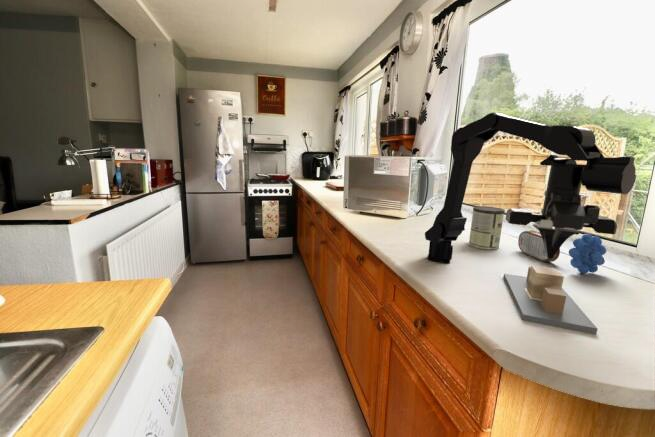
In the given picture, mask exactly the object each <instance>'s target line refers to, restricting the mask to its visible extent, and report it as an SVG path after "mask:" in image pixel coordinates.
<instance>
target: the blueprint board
mask: <svg viewBox="0 0 655 437" xmlns="http://www.w3.org/2000/svg"><path fill="white" fill-rule="evenodd" d="M530 270H531V266H528V269H527V273H526V274H527V275H526V276H522V275H515V274H509V273H503V279H504V282H505V285H506V286H507V289H508V291H509V293H510V295H511V297H512V298H511V299H512V301H513V303H514V304H515V306H516V308H517V311H518V314H519V316H520V318H521V320H522V321H527V322H531V323H535V324H540V325H541V324H542V325H546V326H550V327H551V326H552V327H557V328H563V329H567V330H571V331H577V332H582V333H587V334H592V335H597V334H598V327H597V326H596V325H595V324H594V323H593V321H592V320H591V319H590V318H589V316H587V315H586V313H585V312H584V311H583V310H582V309H581V308H580V307H579V306H578V304H577V303H576V302H575V301H574V299H572V297H571V296H570V295H569V294H568V293H567V291H565V289H564V288H563V287H562V288H561V290H556V289H550V288H544V292H543V297H542V300H541V299H536V298H532V297H531V295H530V294H529V292H528V290H527V286H528V280H529V275H530Z"/></svg>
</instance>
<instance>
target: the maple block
mask: <svg viewBox="0 0 655 437" xmlns="http://www.w3.org/2000/svg"><path fill="white" fill-rule="evenodd" d="M530 267H531V270H530V275H529V280H528V286H527V290H528V292H529V294H530V295H531V297H532V298H536V299H541V300H542V297H543V292H544V288H550V289H556V290H561V288H563V285H564V284H563V282H564V277H565V276H564V275H563V273H561V271H559V270H558V269H557V268H552V267H544V266H537V265H531V266H530Z"/></svg>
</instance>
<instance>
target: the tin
mask: <svg viewBox="0 0 655 437" xmlns="http://www.w3.org/2000/svg"><path fill="white" fill-rule="evenodd" d="M517 243H518V244H517V245H518V248H519V250H520V251H521V252H522V254H524V255H527V256H529V257H531V258H534V259H536V260H538V261H541V262H544V263H545V262H546V263H547V262H550V263H551V262H554V261H556V260H557V259H559V256H560V253H561V247H560V248H559V250H558V251H557V253H556V254H555V255H554V257H553V258H552V259H550V258H547V256H546V252H545V248H544V244H543V240H542V237H541V234H540V232H539V231H536V230H533V229H532V230H525V231H522V232H521V233H520V234H519V235H518V242H517Z"/></svg>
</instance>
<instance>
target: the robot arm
mask: <svg viewBox="0 0 655 437" xmlns="http://www.w3.org/2000/svg"><path fill="white" fill-rule="evenodd" d="M499 132H501V133H505V134H508V135H512V136H515V137H519V138H523V139H525V140H529V141H533V142H535V143H536V144H539V145H540V146H542V147H543V148H544V149H546V150H549V151H550V152H552V153H554V154H549V156H547V158H545V159H543V160H542V161H540V163H539V165H540V166H550V169H549V173H548V180H547V184H546V189H545V190H544V200H543V207H542V208H541V211H540V214H539V213H532V212H531V211H530V210H528V209H522V208H512V207H509V208H508V209H507V210H506V211H505V220H506V222H507V223H508V224H511V225H520V226H527V225H529V224H530V223H533V224H532V226H533V227H534V228H535V229H536V230H537V231H538V232H539V233H540V234H541V237H542V240H543V244H544V248H545V252H546V256H547V258H550V259H552V258H553V257H554V255H555V254H556V253H557V251H558V250H559V248H560V249H561V247H562V245H563V244H564V243H565V242H566V241H567V240H568V239H569V238H570V237H572V236H573V235H577V236H579V234H580V231H581V230H583V228H588V229H592V230H593V231H594V232H595V233H598V234H605V235H606V234H607V235H616V232H617V228H618V225H617V222H616V220H615V219H611V218H609V217H606V216H605V215H603V216H601V215H600V210H601V208H600V206H598V205H595V204H594V205H593V204H586V205H582V203H581V202H582V201H581V200H582V195H581V194H580V193H581V188H582V186H583V187H585V189H586V190H587V191H589V192H597V193H598V192H599V193H607V194H608V193H609V194H618V195H628V194H629V193H630V192H631V190H632V189H633V187H634V186H635V183H636V181H637V180H636V179H637V174H636V165H635V164H634V163H635V157H633V156H618V157H617V156H616V157H610V156H609V157H605V156H604V154H603V153H602V151H601V150H600V148H599V147H598V145H597V144H596V135H595V132H594V131H593V130H592V129H589V128H588V127H585V128H584V127H579V126H573V125H572V126H571V125H557V124H556V125H555V124H552V125H551V124H550V125H549V124H542V123H538V122H535V121H530V120H525V119H521V118H517V117H514V116H510V115H509V116H508V115H506V114H504V113H501V112H500V113H498V112H489V113H488V114H486V115H484V116H483V117H482V118H479V119H477V120H474V121H472V122H470V123H468V124H466V125H464V126H463V127H460V128H457V129H456V130H455V131H453V133H452V136H451V142H450V144H451V146H450V151H451V154H452V157H453V163H452V167H451V170H450V171H451V172H450V176H449V180H448V186H447V189H446V194H445V199H444V202H443V207H442V208H441V210H440V211H439V213H437V215H436V216H435V219H434V222H433V224H432V226H431V227H430V228H429V229H427V231H425V232H424V238H425V241H428V242H429V245H428V246H429V247H428V254H427V258H426V259H427V261H431V262H438V263H444V264H450V262H451V261H452V258H453V253H454V252H453V251H454V250H453V249H454V245H453V244H452V242H453V241H454V242H455V241H456V242H457V240H458V237H459V236H460V235H461V234H462V233H463V231H465V225H466V223H467V218H468V217H464V216H463V214H462V207H463V204H464V198H465V195H466V190H467V187H468V186H467V185H468V182H469V179H470V173H471V170H472V165H473V163H474V161H475V159H476V158H477V157H478V156H479V155H480V153H482V149H483V146H484V144H485V143H486V142H488V141H490V140H492V139H493V138H494V137H495V136H496V135H497V134H498V133H499ZM559 156H567V157H568V158H560V157H559ZM577 161H583V162H586V164H578V163H577ZM553 227H554V228H553Z"/></svg>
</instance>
